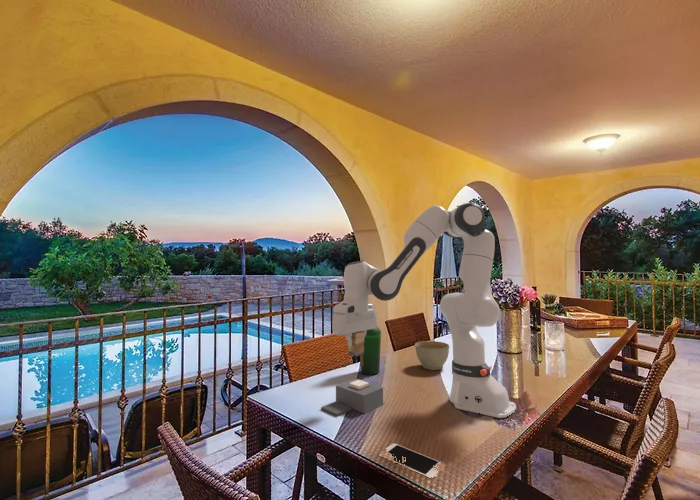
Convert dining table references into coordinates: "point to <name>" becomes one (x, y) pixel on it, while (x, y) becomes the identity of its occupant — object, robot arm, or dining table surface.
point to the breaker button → (359, 385)
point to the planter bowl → (432, 354)
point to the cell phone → (414, 460)
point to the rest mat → (336, 408)
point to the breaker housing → (359, 396)
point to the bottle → (371, 352)
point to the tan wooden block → (357, 344)
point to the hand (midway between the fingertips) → (356, 344)
